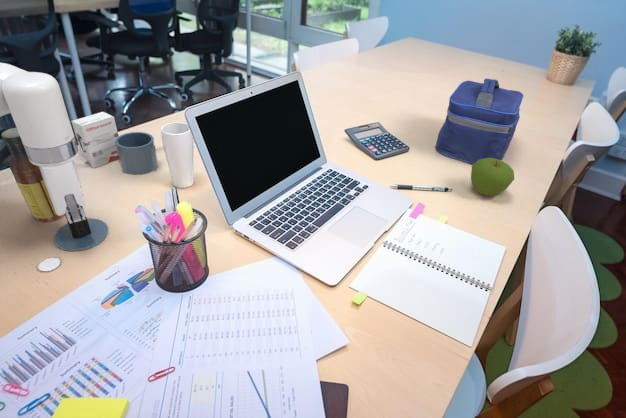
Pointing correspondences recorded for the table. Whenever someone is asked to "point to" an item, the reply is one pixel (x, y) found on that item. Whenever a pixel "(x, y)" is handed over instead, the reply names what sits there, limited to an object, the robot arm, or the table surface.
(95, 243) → the canister lid
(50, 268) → the white flat disc
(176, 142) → the drinking glass
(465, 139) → the lunch bag
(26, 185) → the sauce bottle
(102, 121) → the ink box
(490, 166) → the apple
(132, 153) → the canister
